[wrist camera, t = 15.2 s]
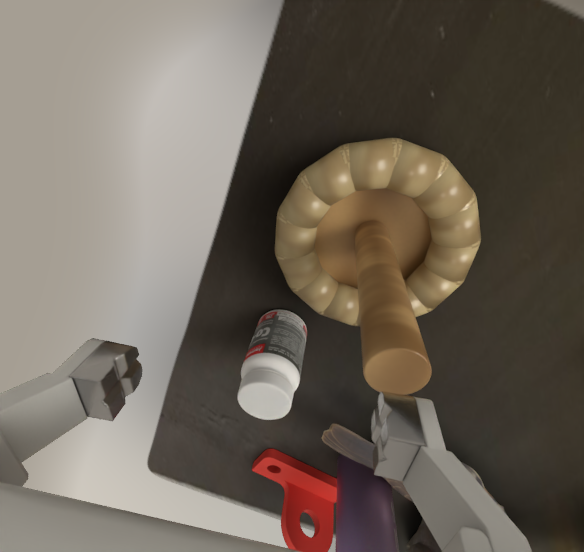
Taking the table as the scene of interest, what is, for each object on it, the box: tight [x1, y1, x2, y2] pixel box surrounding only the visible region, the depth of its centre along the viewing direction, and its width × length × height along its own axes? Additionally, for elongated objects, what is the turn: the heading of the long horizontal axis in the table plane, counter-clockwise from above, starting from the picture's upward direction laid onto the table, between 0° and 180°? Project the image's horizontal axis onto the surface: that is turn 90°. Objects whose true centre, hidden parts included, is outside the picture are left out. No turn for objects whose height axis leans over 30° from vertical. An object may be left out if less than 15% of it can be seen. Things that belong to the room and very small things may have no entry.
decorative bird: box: [322, 423, 507, 515], centre depth 34 cm, size 6×25×5 cm, turn 56°
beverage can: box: [336, 454, 399, 552], centre depth 32 cm, size 6×6×15 cm
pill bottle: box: [238, 309, 307, 420], centre depth 26 cm, size 5×5×8 cm
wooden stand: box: [315, 188, 432, 395], centre depth 18 cm, size 9×9×14 cm
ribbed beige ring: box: [275, 138, 481, 326], centre depth 22 cm, size 13×14×3 cm
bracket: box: [252, 449, 337, 552], centre depth 39 cm, size 12×4×8 cm, turn 60°
